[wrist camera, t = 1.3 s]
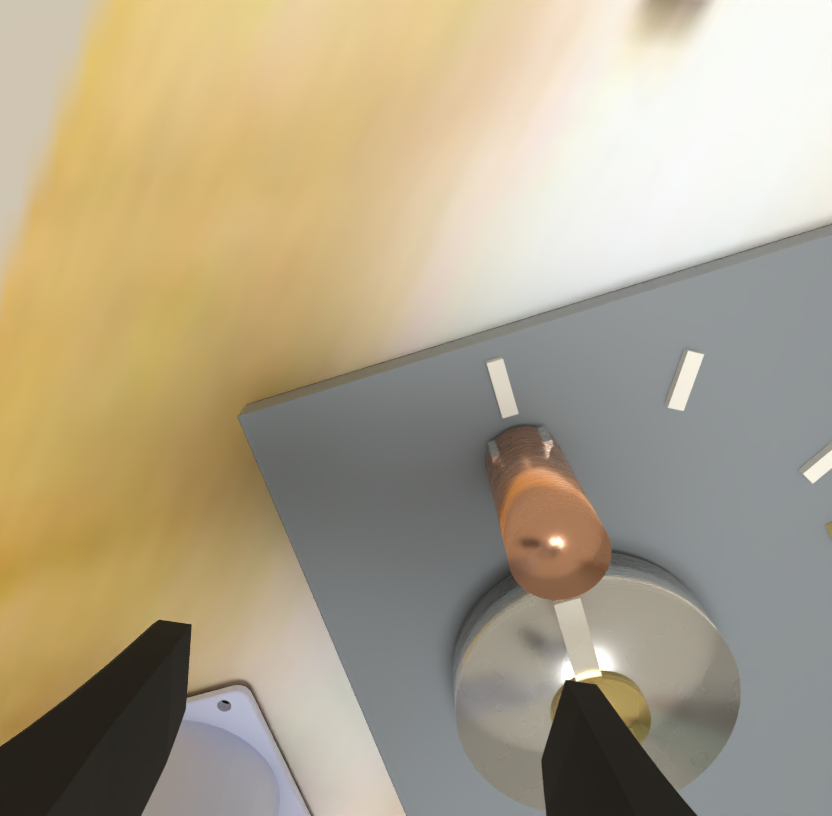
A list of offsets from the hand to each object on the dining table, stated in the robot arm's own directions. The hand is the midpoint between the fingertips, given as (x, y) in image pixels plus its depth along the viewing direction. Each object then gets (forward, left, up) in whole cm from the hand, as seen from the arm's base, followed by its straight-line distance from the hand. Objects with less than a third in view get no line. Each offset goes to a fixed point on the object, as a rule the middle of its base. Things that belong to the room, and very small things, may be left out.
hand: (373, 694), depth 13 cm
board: (+6, -7, -10) cm, 14 cm away
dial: (+4, -6, -9) cm, 12 cm away
